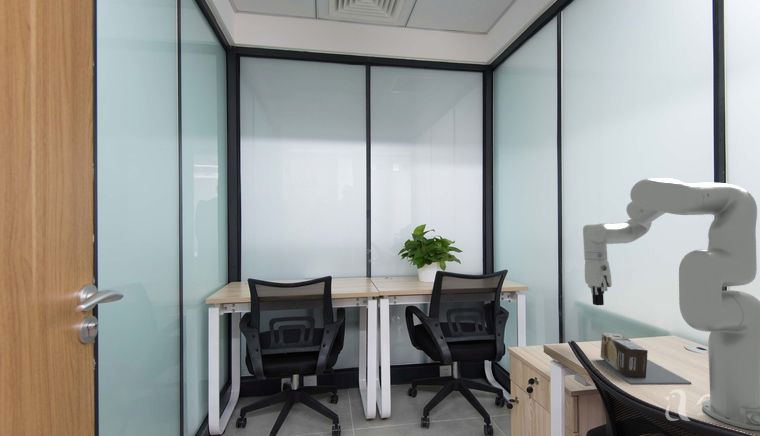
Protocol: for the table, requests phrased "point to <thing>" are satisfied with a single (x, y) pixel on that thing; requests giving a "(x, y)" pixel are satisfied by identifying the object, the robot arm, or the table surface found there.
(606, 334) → the coffee box
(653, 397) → the table surface
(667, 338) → the table surface
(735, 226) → the robot arm
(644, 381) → the rubber mat
